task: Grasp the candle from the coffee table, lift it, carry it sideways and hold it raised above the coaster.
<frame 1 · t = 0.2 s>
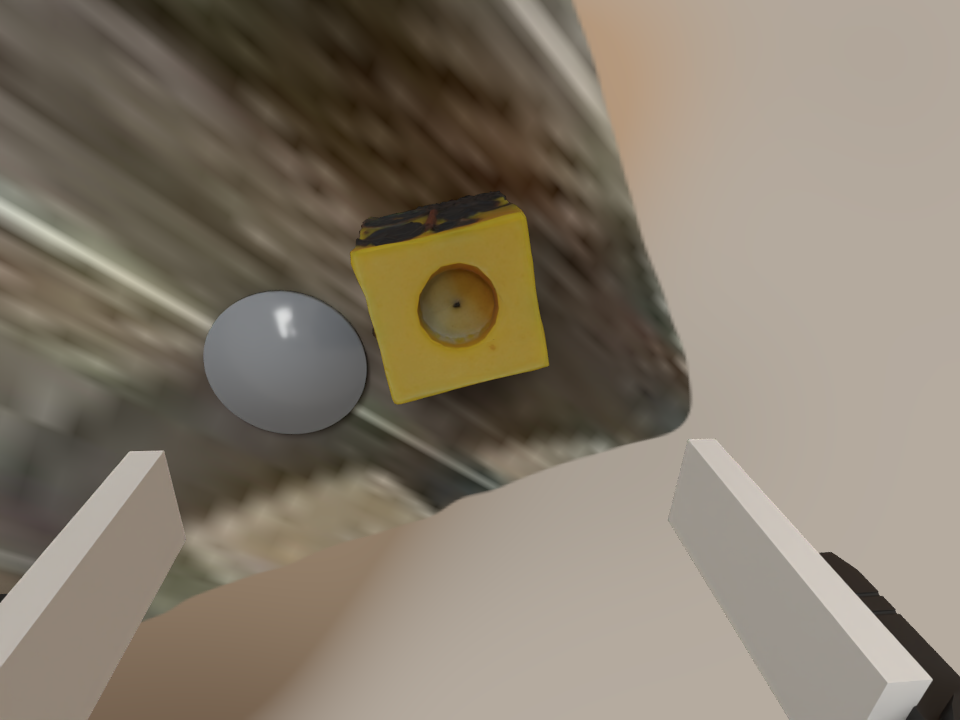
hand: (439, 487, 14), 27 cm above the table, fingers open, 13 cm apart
coaster: (288, 364, 41), on the table
candle: (446, 270, 39), on the table
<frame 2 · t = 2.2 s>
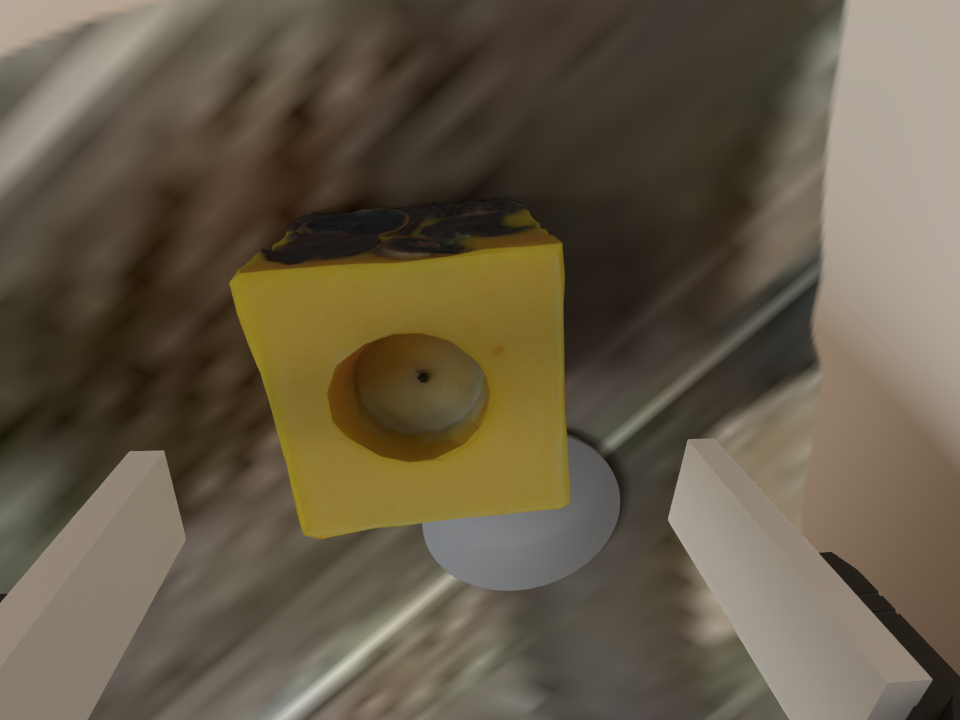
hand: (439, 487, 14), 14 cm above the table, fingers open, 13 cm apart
coaster: (521, 511, 32), on the table
candle: (421, 306, 26), on the table
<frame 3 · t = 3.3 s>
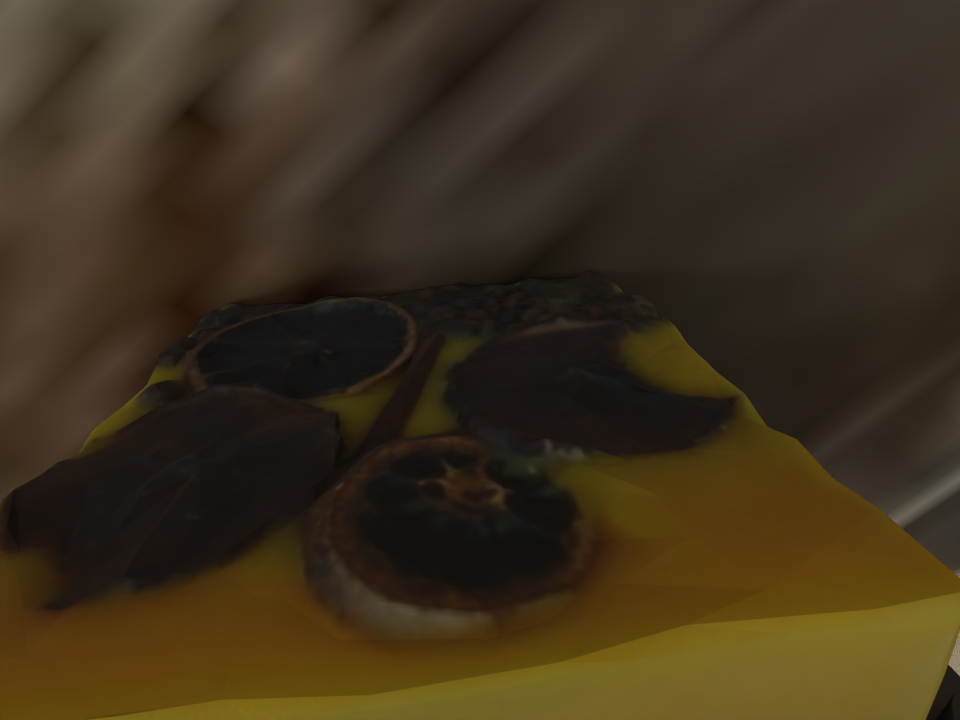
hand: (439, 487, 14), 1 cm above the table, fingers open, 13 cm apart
candle: (436, 450, 15), on the table
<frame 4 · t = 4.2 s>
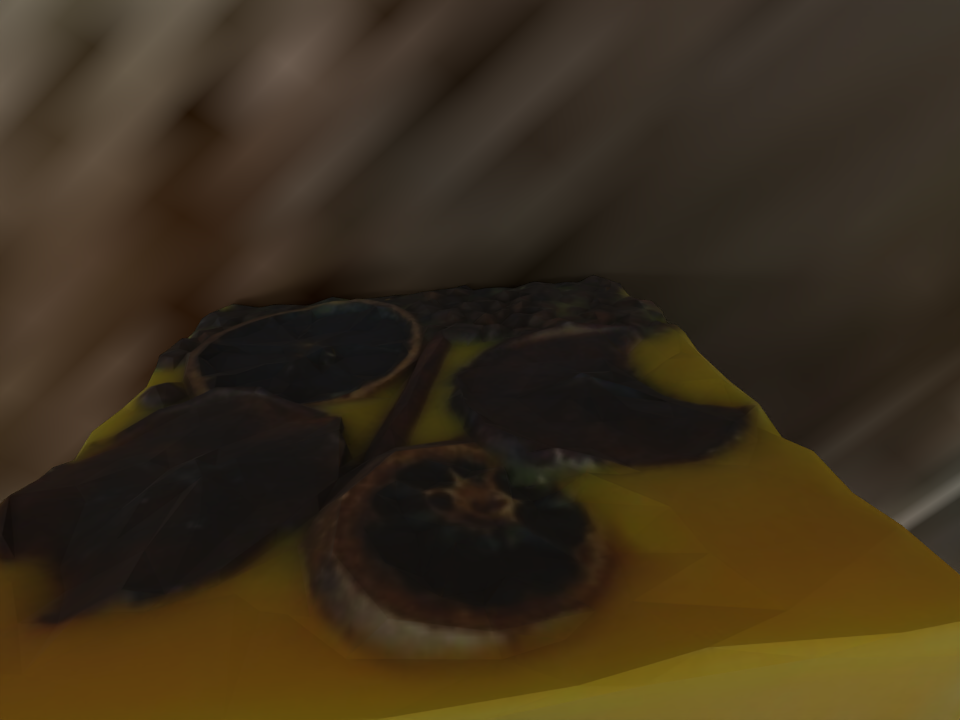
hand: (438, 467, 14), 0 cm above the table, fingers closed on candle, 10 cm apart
candle: (438, 454, 15), on the table, touching gripper
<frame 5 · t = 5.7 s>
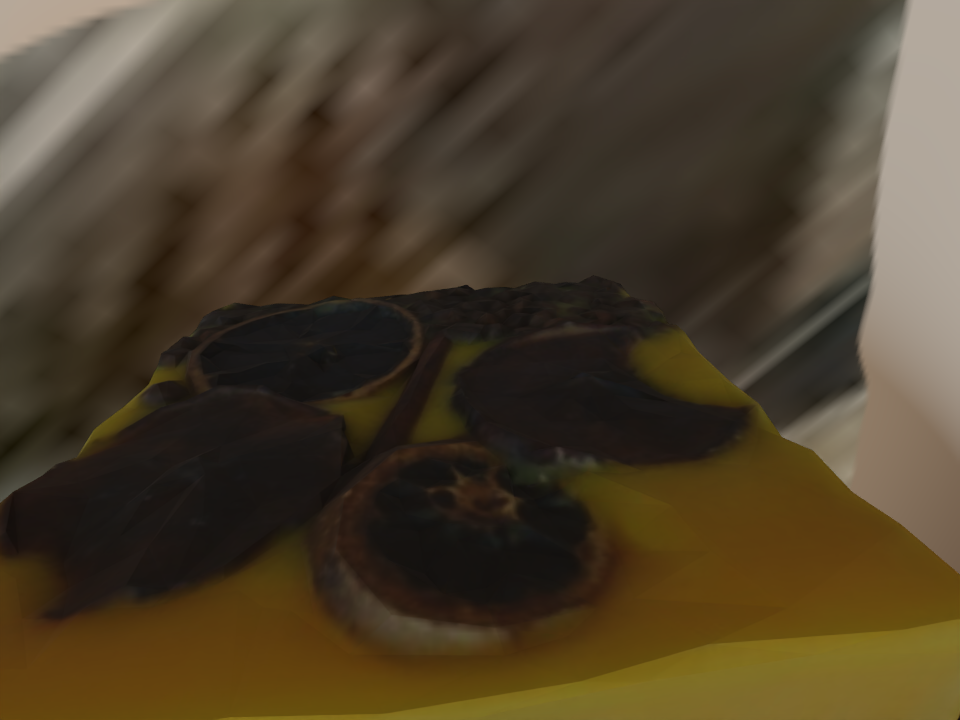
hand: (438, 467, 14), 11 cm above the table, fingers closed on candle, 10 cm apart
candle: (438, 453, 15), point 11 cm above the table, touching gripper
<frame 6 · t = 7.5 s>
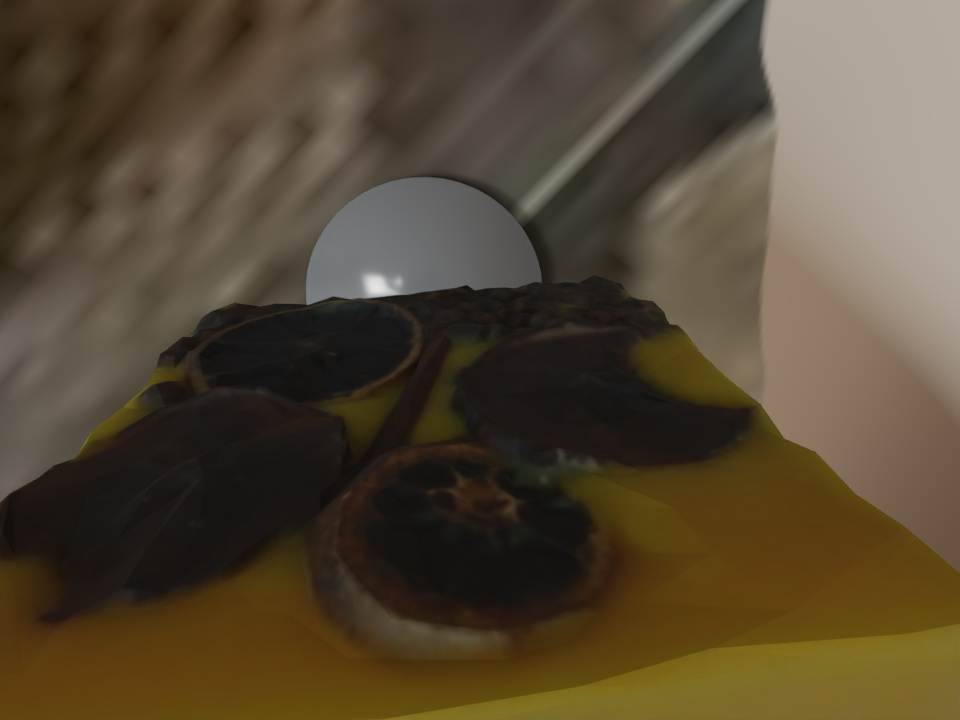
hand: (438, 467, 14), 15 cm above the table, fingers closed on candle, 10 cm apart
coaster: (427, 297, 27), on the table
candle: (438, 454, 15), point 14 cm above the table, touching gripper
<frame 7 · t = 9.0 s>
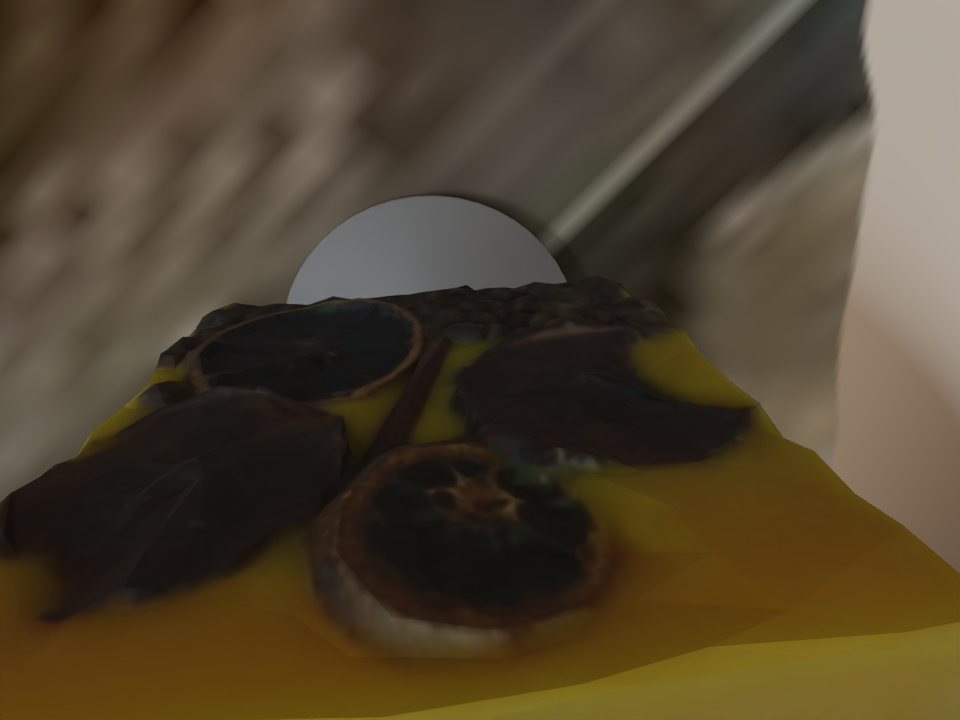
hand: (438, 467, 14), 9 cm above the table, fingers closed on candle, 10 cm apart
coaster: (433, 341, 22), on the table
candle: (438, 453, 15), point 8 cm above the table, touching gripper
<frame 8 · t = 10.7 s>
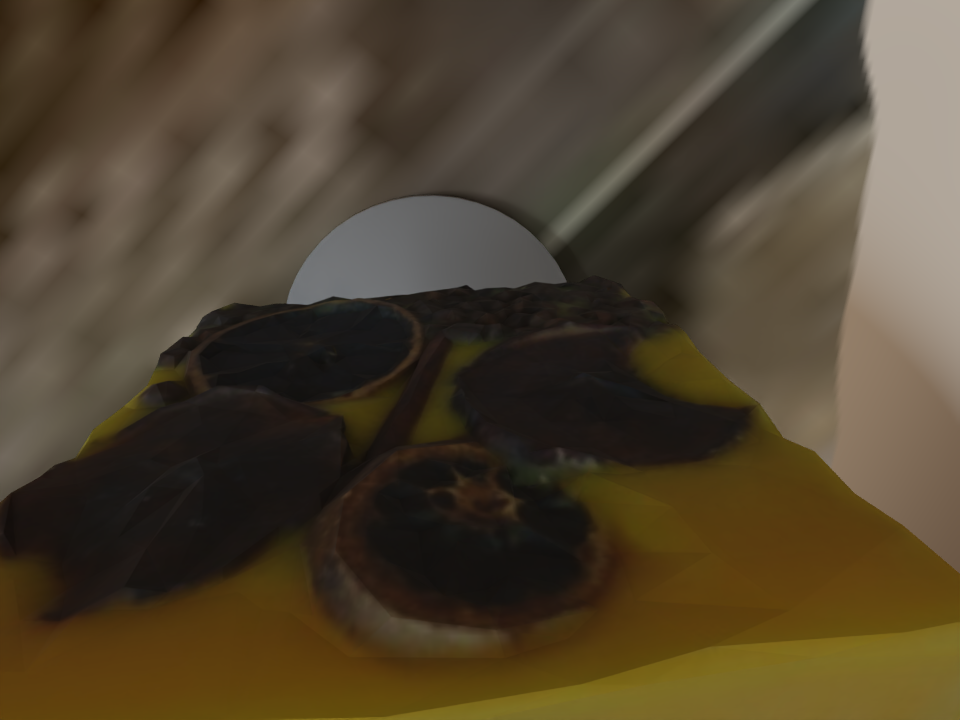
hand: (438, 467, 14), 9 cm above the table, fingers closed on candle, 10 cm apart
coaster: (433, 341, 22), on the table
candle: (438, 453, 15), point 8 cm above the table, touching gripper
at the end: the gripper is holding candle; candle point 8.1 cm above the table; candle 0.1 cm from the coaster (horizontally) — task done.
